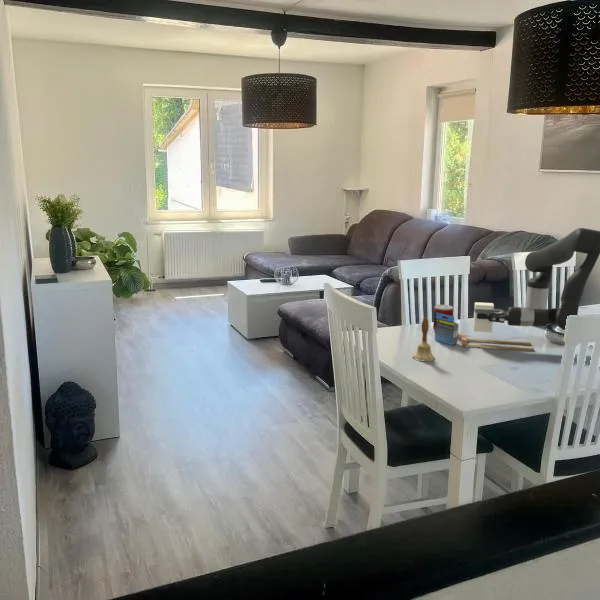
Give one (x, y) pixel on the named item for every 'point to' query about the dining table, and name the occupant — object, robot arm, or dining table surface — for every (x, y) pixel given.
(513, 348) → the wooden rail channel
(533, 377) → the dining table surface
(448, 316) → the label tape cartridge
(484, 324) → the block
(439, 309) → the canned food
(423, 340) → the hand bell
